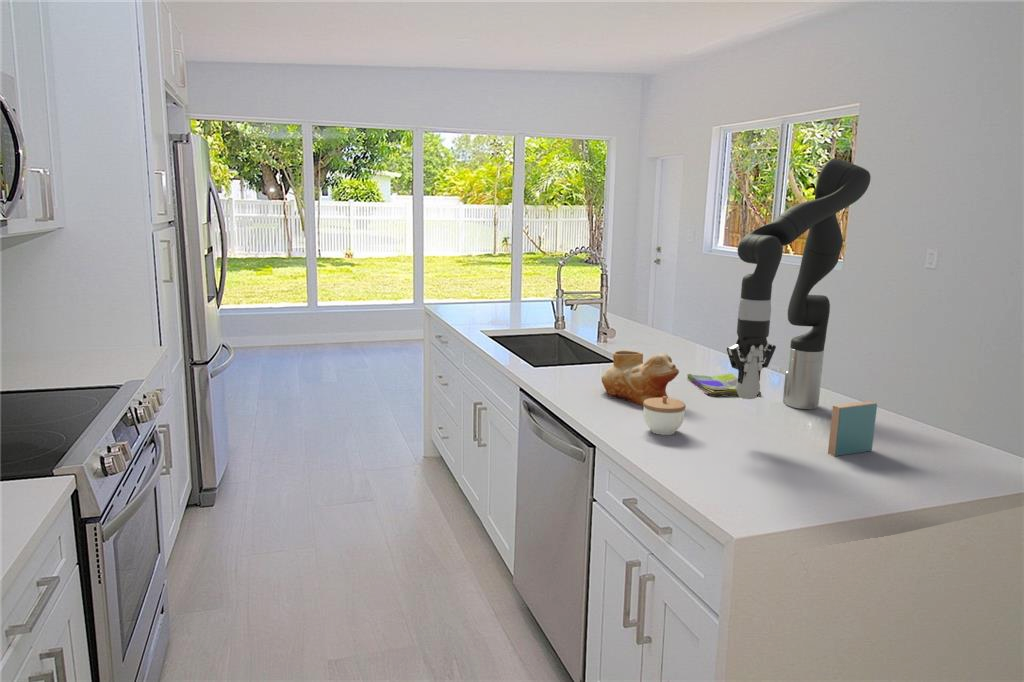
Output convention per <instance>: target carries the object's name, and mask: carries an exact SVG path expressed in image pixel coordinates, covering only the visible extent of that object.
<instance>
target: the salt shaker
mask: <svg viewBox="0 0 1024 682" xmlns="http://www.w3.org/2000/svg"><path fill="white" fill-rule="evenodd" d="M750 355H751V354H750ZM759 355H760V351H759V349H758V348H757V347H755V349H754V352H752V359H751V363H749V366H748V370H747V373H746V377H745V372H744V377H743V382H742V384H741V383H738V380H737V384H736V391H737V393H738V396H737V397H739V398H740V399H745V400H754V399H756V398H757V397H758V396H757V395H758V393H759V391H760V390H761V384H760V381H759V373H758V362H757V357H758V356H759ZM744 358H745V359H746V357H744ZM743 365H744V362H743ZM743 365H742V366H743ZM740 381H741V380H740ZM760 392H761V391H760Z"/></svg>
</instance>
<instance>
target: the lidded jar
mask: <svg viewBox="0 0 1024 682" xmlns="http://www.w3.org/2000/svg"><path fill="white" fill-rule="evenodd" d="M642 407H643V419H644V422H645V424H646V426H647V427H648V428H649V430H650V432H651V433H653V434H655V433H656V435H660V434H661V435H662V436H670V435H674V434H675V432H676V431H678V430H679V429H680V428H681V426H682V425H683V422H684V419H685V418H684V417H685V415H686V414H685V412H686V403H685V402H684V401H682V400H679V399H675V398H670V397H668V398H667V397H666V396H663V398H649V399H646V400H645V401H644V402H643V406H642Z"/></svg>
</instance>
